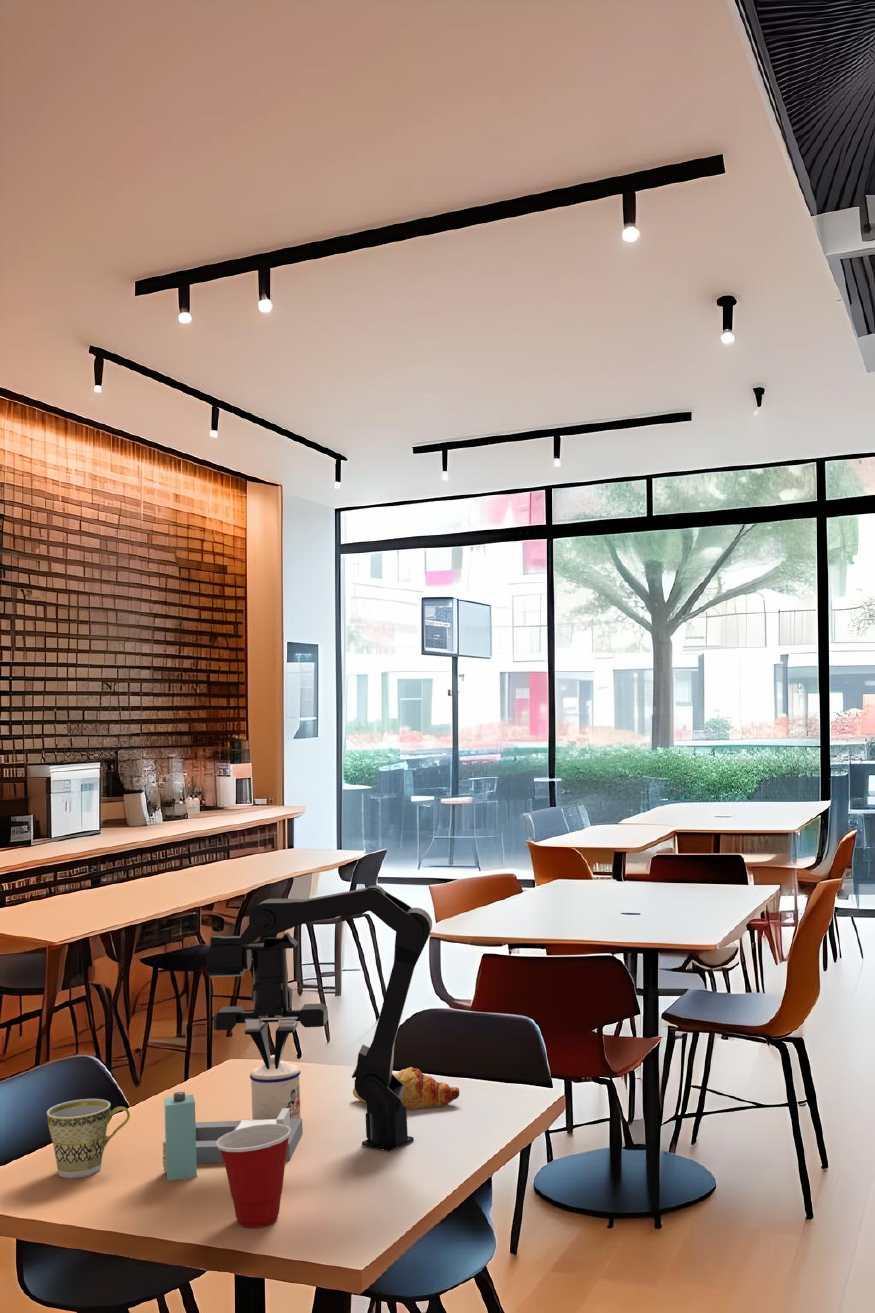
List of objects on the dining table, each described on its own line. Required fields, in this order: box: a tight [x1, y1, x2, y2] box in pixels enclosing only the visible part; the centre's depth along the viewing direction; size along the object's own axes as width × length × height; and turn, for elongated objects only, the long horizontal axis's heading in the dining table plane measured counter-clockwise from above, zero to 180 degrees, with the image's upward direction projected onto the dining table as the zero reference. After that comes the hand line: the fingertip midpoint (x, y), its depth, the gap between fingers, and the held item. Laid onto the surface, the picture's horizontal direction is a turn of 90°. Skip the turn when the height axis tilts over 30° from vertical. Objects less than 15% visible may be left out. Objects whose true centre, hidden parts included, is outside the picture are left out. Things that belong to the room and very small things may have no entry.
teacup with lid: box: [249, 1054, 302, 1120], centre depth 207 cm, size 12×9×12 cm
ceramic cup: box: [46, 1098, 130, 1179], centre depth 186 cm, size 13×10×10 cm
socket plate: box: [195, 1118, 304, 1164], centre depth 192 cm, size 19×13×2 cm
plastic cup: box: [216, 1124, 292, 1229], centre depth 162 cm, size 11×11×12 cm
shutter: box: [236, 1108, 290, 1130], centre depth 193 cm, size 8×8×3 cm
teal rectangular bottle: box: [162, 1091, 198, 1182], centre depth 182 cm, size 5×4×12 cm
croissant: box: [352, 1066, 460, 1111], centre depth 213 cm, size 21×10×8 cm, turn 74°
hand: (272, 1068), depth 193 cm, fingers closed
